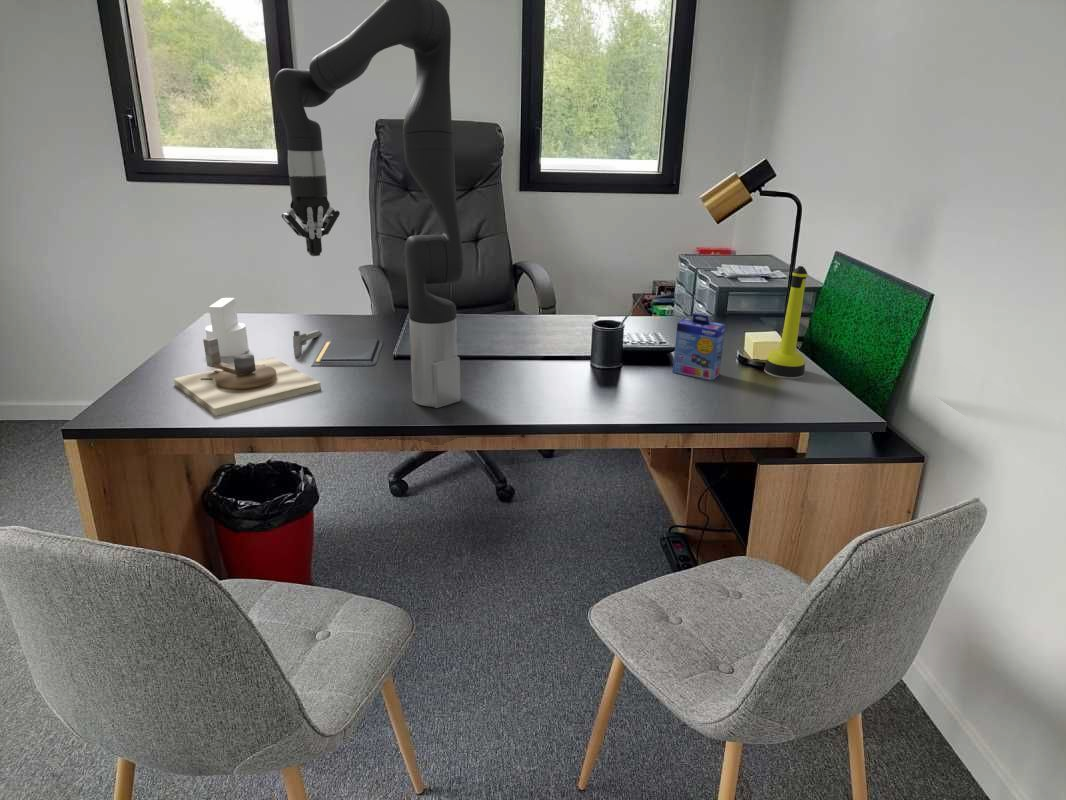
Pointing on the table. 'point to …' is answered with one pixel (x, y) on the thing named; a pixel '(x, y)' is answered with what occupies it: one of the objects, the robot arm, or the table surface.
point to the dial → (237, 369)
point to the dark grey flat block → (349, 353)
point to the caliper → (302, 340)
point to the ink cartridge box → (698, 347)
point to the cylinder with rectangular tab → (227, 328)
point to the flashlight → (790, 334)
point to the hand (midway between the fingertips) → (314, 255)
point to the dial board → (236, 399)
